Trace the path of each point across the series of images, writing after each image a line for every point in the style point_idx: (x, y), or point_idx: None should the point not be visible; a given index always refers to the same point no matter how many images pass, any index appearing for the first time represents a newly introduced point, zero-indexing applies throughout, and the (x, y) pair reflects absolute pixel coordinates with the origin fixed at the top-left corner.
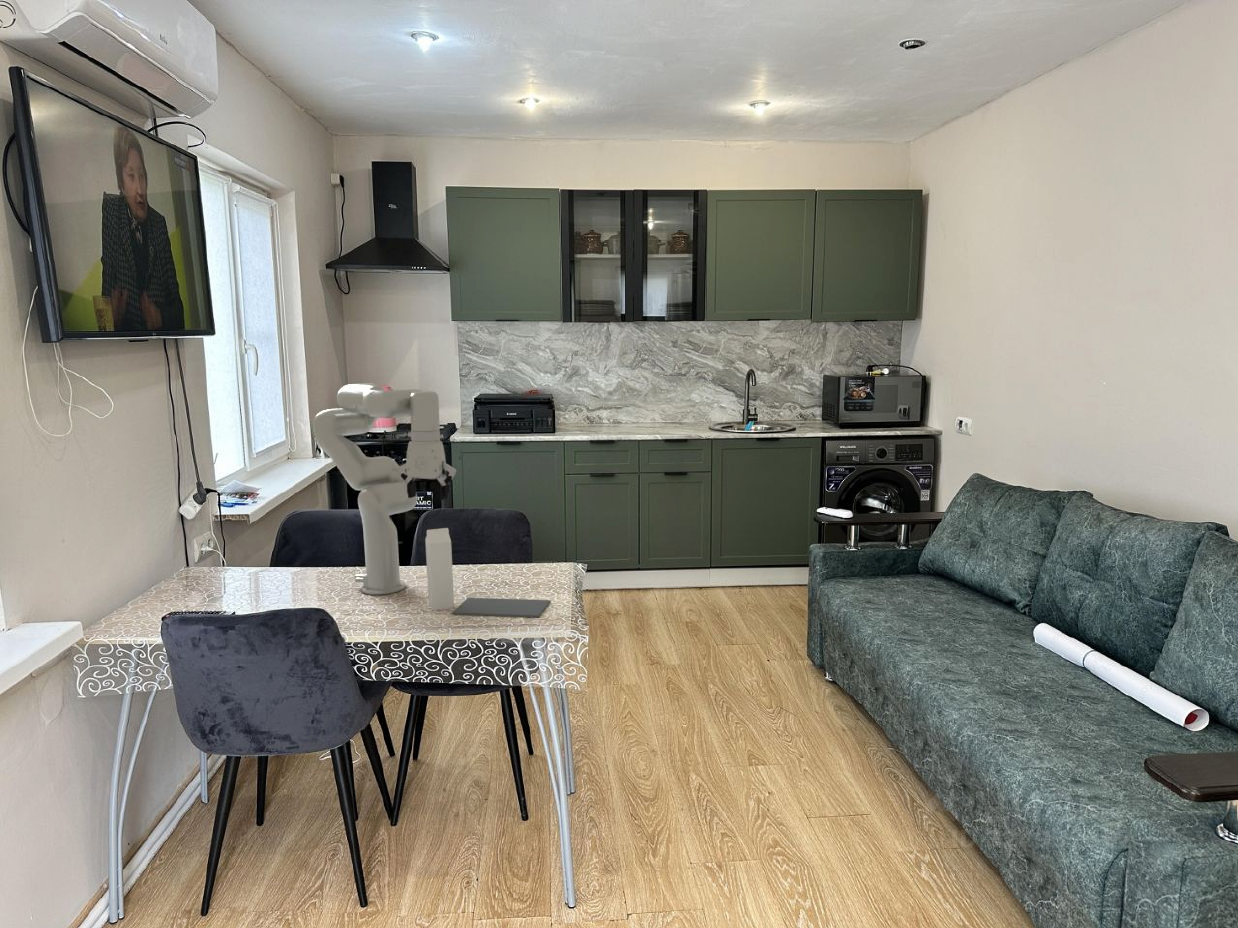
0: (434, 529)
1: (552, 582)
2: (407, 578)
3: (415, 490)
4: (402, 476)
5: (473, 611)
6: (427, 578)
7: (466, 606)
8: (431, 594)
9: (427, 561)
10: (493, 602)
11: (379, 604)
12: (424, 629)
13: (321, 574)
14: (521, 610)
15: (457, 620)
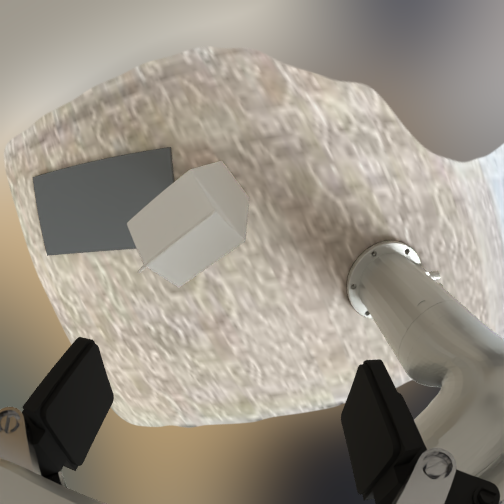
0: (181, 237)
1: None
2: (361, 342)
3: (349, 444)
4: (485, 490)
5: (131, 163)
6: (246, 206)
7: (157, 189)
8: (219, 164)
9: (235, 204)
10: (119, 224)
11: (356, 185)
12: (188, 60)
13: (484, 323)
14: (60, 193)
15: (146, 119)
